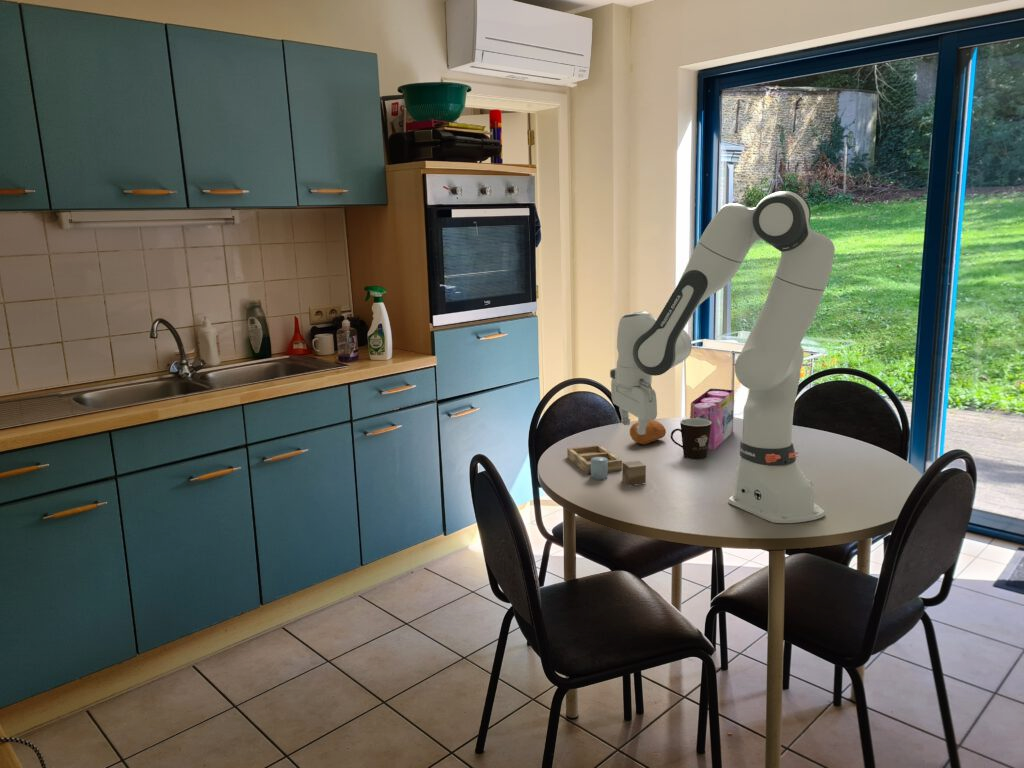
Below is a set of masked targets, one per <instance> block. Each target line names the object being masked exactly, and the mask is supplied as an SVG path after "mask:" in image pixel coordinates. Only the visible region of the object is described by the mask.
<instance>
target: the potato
mask: <svg viewBox="0 0 1024 768" xmlns="http://www.w3.org/2000/svg"><path fill="white" fill-rule="evenodd" d="M638 425H639V421H637V422H635V423H633V424H632V425H631V426H630V429H629V436H630V438H631V439H632V440H633V442H635V443H637V444H640V445H647V444H650V443H651V442H654V441H657V440H660V439H662V438H664V437H665V436H666V434H667V431H666V430H667V429H666V428H665V426H664V424H662V423H661V422H659V421H657V420H649V421H648V424H647V426H646V433H645V434H644V435H640V434H638V433H637V427H638Z"/></svg>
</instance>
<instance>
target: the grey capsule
mask: <svg viewBox="0 0 1024 768" xmlns="http://www.w3.org/2000/svg"><path fill="white" fill-rule="evenodd" d="M608 474H609V472H608V459H607V458H605V457H594V458H591V474H590V478H591V479H592V478H593V479H592V480H594V479H598V480H597V481H602V480H601V479H605V480H607V479H608V478H607V477H609V475H608ZM606 478H607V479H606Z"/></svg>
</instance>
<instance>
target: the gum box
mask: <svg viewBox="0 0 1024 768" xmlns="http://www.w3.org/2000/svg"><path fill="white" fill-rule="evenodd" d="M734 407H735V390H734V389H724V388H723V389H722V388H708V390H706V391H705V392H704V393H703V394H701V395H700V396H698V397H697V398H695V399H694V400H692V401H691V402H690V412H689V413H690V414H689V419H690V418H698V419H705V420H709V421H711V422H712V423H711V430H710V437H709V444H708V450H709V451H715V450H716V448H718V446H720V445H721V444H722V443H723V442H724V441H725V440H727V439H728V437H729V436H731V435H732V433H733V432H734V414H735V413H734V412H735V411H734V410H735V408H734Z"/></svg>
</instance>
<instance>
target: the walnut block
mask: <svg viewBox="0 0 1024 768" xmlns="http://www.w3.org/2000/svg"><path fill="white" fill-rule="evenodd" d="M646 467H647V465H646V464H644V463H643V462H642V461H640V460H632V461H622V470H621V471H622V473H621V475H622V476H621V477H622V480H623V481H622V482H624V481H625V482H626V483H627V484H626V483H625V482H624V483H625V484H626V485H628V484H629V485H632V486H636V485H635V484H641V485H644V484H643V483H647V478H646V477H647V472H646V471H647V468H646ZM629 485H628V486H629Z"/></svg>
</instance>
